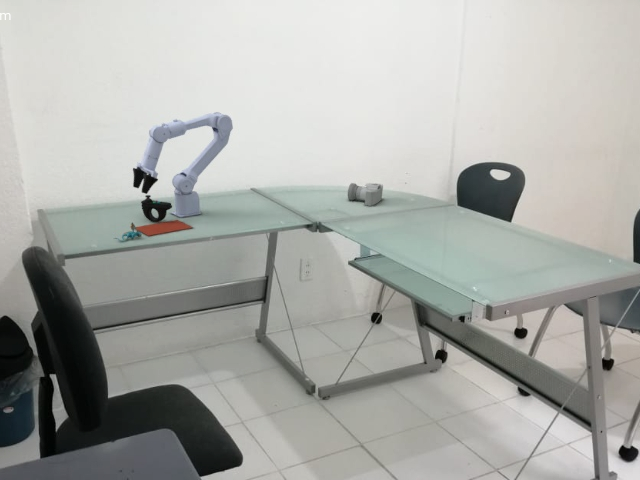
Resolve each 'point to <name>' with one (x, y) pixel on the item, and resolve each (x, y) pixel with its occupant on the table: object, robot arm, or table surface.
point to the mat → (163, 228)
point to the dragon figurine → (131, 233)
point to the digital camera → (366, 193)
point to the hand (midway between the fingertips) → (139, 190)
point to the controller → (158, 206)
